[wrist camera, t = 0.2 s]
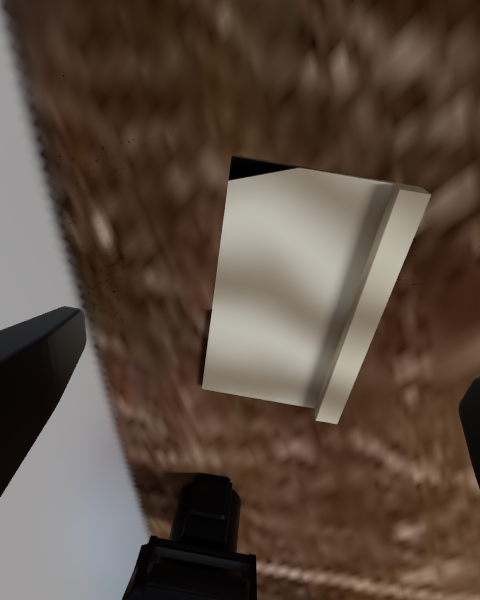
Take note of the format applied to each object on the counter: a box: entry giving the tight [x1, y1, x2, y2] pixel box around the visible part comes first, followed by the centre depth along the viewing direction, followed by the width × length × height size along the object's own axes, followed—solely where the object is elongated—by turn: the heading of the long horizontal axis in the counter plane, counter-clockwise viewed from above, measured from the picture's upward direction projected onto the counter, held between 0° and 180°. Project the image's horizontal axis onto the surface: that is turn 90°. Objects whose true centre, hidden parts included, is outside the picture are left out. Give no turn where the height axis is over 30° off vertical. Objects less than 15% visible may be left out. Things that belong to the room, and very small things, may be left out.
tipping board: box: [202, 155, 431, 424], centre depth 22 cm, size 16×10×2 cm, turn 172°
